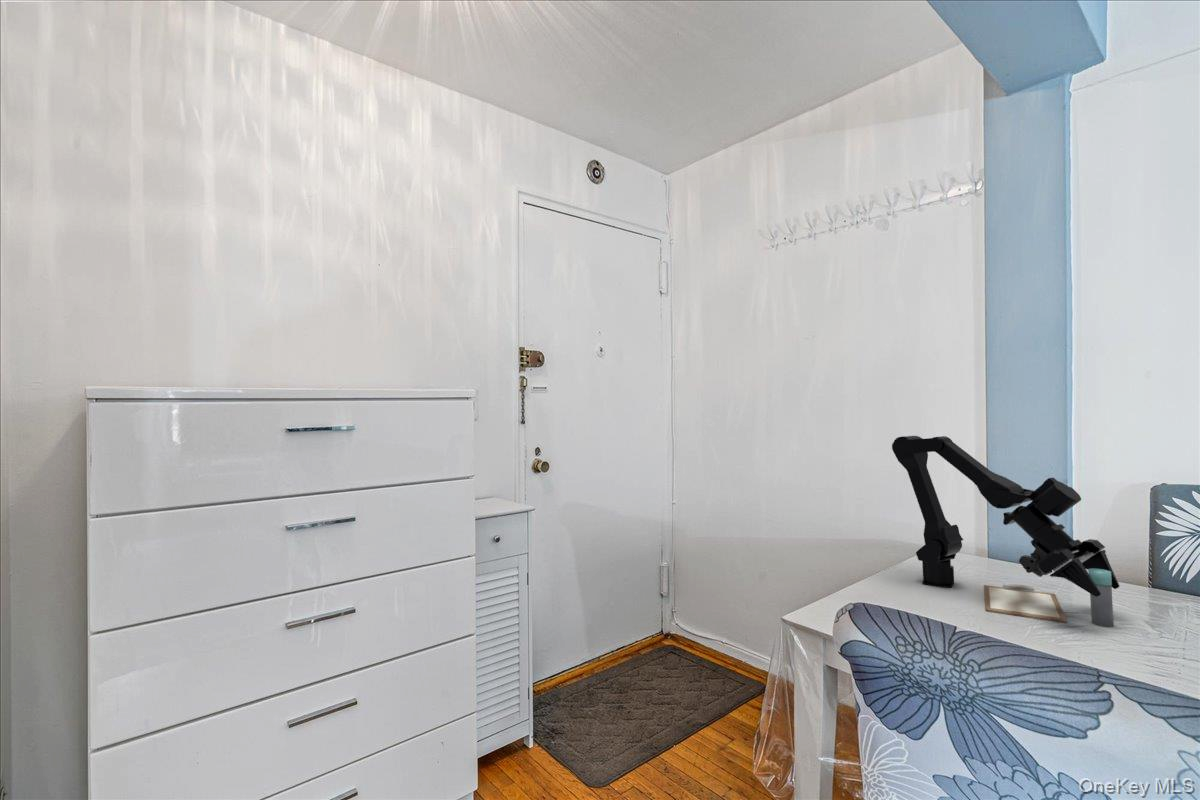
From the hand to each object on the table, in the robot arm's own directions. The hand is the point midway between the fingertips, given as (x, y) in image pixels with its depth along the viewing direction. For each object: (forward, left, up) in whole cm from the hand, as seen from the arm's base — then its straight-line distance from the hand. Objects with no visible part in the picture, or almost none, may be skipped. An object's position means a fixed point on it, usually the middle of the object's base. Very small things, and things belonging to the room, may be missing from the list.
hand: (1108, 591), depth 113 cm
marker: (-1, +1, -7) cm, 7 cm away
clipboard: (-14, +8, -7) cm, 17 cm away
